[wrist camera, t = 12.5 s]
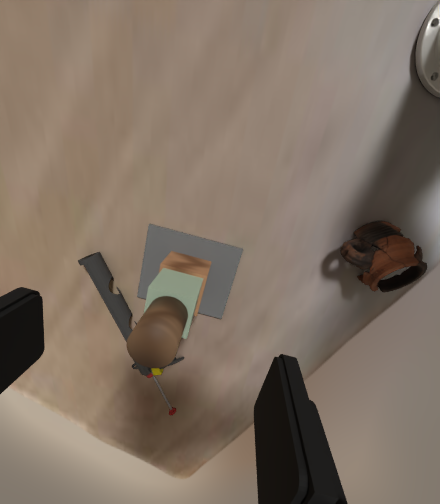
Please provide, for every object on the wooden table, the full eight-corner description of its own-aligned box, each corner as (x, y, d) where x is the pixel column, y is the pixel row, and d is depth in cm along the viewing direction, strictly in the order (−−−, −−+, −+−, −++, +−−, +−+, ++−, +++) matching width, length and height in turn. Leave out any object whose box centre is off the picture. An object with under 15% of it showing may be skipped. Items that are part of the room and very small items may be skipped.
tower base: (211, 261, 39) (207, 276, 33) (202, 296, 41) (196, 316, 35) (171, 250, 38) (160, 263, 33) (164, 286, 41) (152, 304, 35)
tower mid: (203, 278, 33) (196, 299, 27) (194, 312, 35) (186, 338, 29) (163, 267, 33) (148, 286, 27) (156, 302, 35) (141, 327, 29)
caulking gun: (125, 244, 37) (66, 265, 37) (204, 407, 47) (159, 425, 47) (131, 239, 41) (78, 258, 40) (203, 391, 51) (161, 407, 50)
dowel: (191, 302, 27) (180, 334, 22) (183, 334, 29) (171, 373, 23) (151, 291, 27) (129, 321, 22) (145, 325, 29) (123, 361, 23)
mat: (242, 248, 38) (242, 249, 38) (221, 317, 42) (221, 318, 42) (149, 223, 38) (148, 224, 37) (138, 295, 42) (137, 296, 42)
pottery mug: (409, 218, 35) (452, 258, 30) (369, 259, 42) (399, 297, 36) (343, 212, 33) (376, 255, 27) (312, 256, 39) (334, 298, 34)
